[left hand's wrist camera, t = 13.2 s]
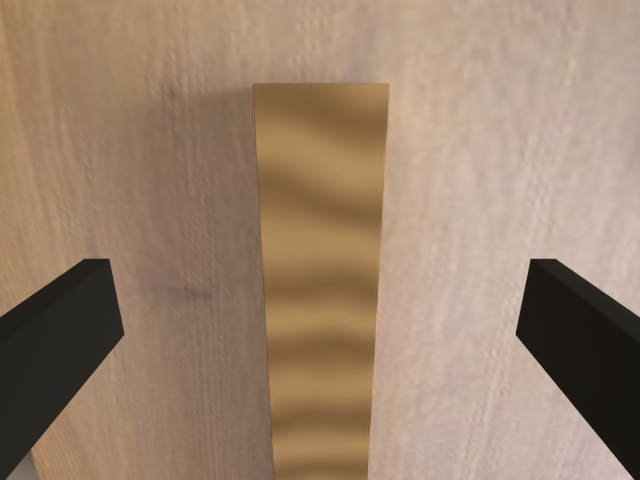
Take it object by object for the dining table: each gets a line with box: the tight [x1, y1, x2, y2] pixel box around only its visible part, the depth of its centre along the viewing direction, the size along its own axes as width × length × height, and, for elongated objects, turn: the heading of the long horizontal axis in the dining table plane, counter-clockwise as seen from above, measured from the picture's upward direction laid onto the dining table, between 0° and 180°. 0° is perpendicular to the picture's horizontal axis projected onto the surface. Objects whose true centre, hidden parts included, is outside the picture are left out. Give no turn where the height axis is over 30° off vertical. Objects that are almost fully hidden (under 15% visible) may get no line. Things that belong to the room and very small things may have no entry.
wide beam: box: [253, 84, 390, 480], centre depth 40 cm, size 58×9×7 cm, turn 0°
